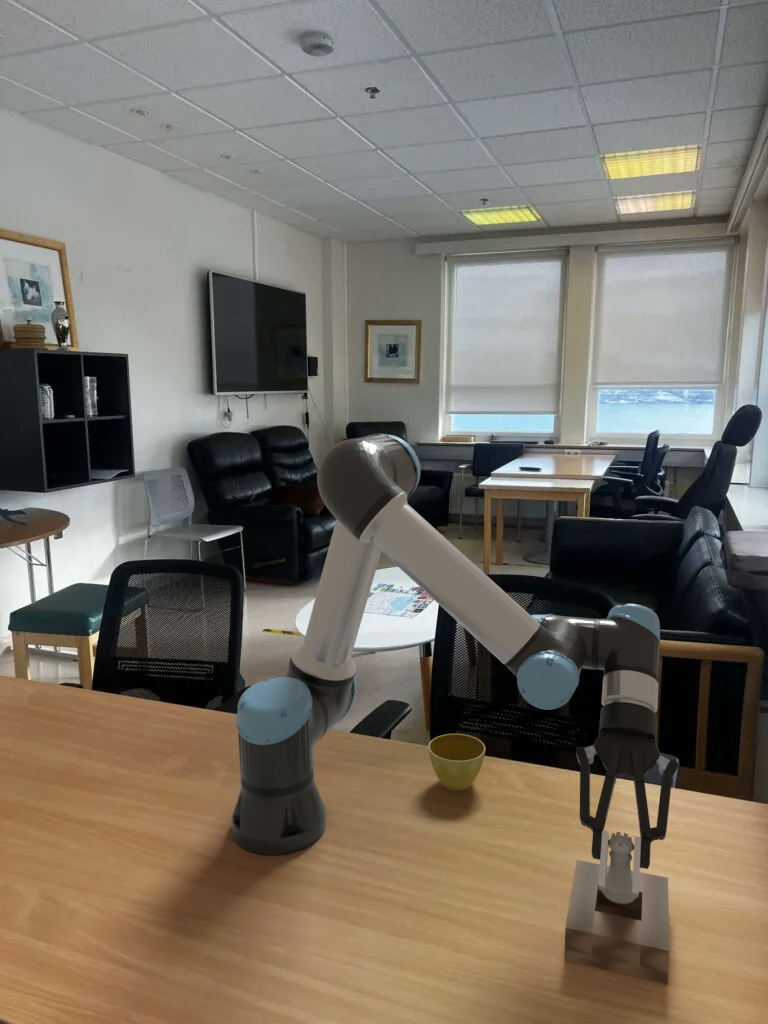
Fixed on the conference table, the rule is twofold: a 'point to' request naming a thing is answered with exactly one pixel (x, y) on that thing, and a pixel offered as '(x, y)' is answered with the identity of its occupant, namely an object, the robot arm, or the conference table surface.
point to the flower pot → (456, 759)
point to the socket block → (619, 926)
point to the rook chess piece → (619, 870)
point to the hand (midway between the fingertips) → (618, 891)
